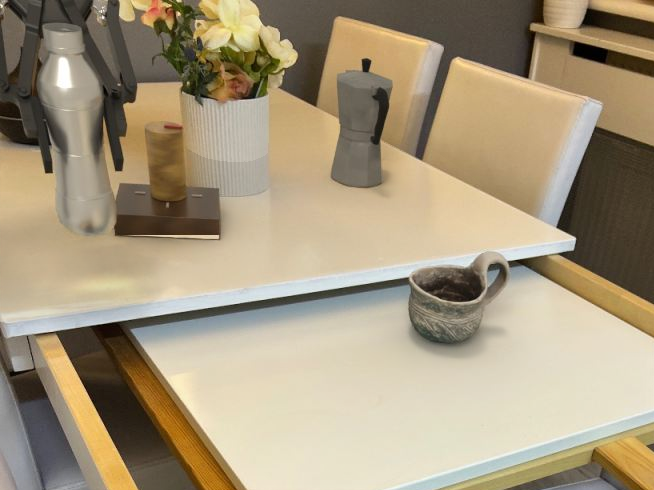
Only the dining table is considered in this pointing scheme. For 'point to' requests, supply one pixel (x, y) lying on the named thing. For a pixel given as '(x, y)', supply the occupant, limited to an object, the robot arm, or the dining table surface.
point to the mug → (454, 297)
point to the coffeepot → (360, 126)
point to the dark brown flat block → (166, 212)
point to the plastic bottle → (76, 133)
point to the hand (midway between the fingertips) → (84, 166)
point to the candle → (166, 160)
